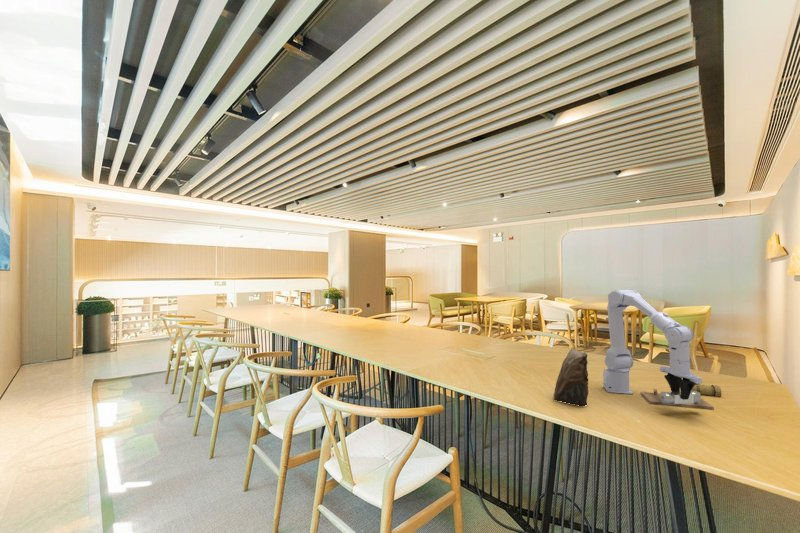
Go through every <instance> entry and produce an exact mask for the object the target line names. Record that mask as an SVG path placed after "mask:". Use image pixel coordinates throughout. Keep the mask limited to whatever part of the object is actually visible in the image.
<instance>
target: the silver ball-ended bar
mask: <svg viewBox="0 0 800 533" xmlns="http://www.w3.org/2000/svg"><path fill="white" fill-rule="evenodd" d="M659 393H660V394H661V402H662V403H664V404H668V405H674V404H684V403H701V399H702V398H701V394H700V393H699V392H697V391H692V390H691V393H690V395H689V399H686V400H683V399H682V398H681V390H680V391H678V392H672V391H661V392H659ZM668 405H667V406H668Z"/></svg>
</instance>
